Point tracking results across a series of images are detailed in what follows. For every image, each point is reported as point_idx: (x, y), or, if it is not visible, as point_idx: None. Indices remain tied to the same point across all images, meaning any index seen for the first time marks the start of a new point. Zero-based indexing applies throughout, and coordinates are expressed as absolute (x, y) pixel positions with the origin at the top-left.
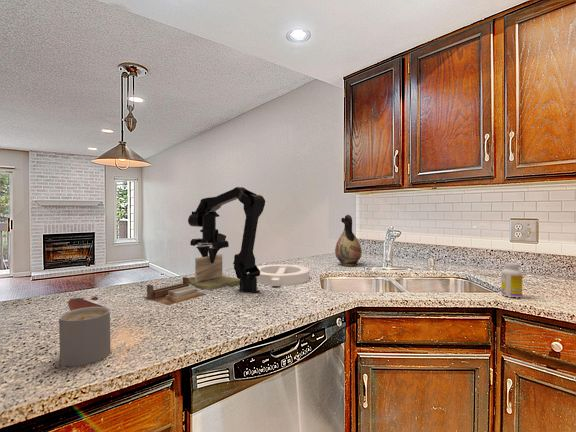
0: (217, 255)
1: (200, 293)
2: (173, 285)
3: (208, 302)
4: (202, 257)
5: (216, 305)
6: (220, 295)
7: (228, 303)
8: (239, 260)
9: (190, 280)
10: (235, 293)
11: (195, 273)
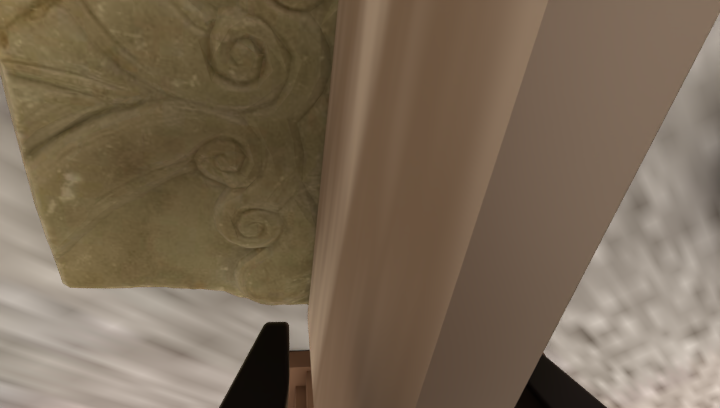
0: (587, 262)
1: None
2: None
3: (597, 387)
4: None
5: (657, 391)
6: (608, 287)
7: (709, 350)
8: None
9: (164, 278)
10: (704, 202)
11: (313, 394)
